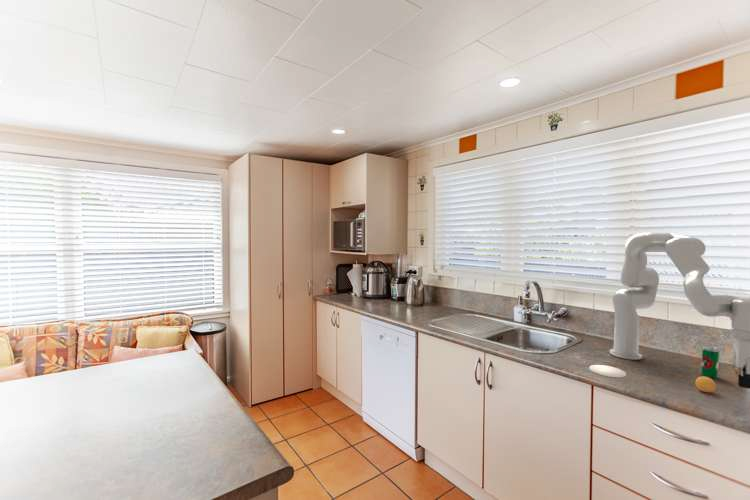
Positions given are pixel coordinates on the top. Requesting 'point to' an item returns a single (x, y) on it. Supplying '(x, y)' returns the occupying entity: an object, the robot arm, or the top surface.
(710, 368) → the soda can
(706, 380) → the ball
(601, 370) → the disc
